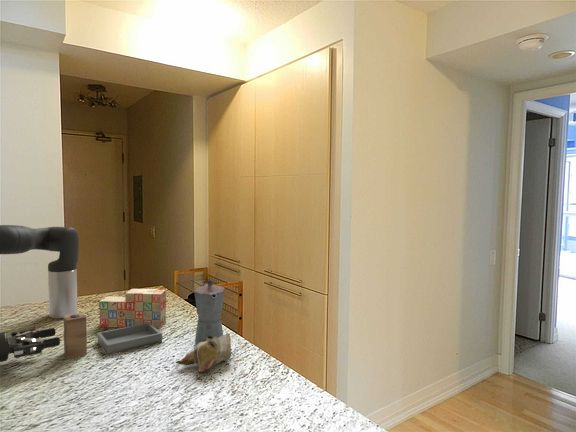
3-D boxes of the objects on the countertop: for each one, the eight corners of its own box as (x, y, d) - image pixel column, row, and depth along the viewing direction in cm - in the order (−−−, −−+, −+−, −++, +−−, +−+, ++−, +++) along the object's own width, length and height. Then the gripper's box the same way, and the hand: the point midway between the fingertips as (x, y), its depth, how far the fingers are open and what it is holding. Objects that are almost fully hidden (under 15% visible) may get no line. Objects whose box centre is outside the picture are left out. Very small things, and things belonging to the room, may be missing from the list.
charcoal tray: (97, 342, 121) (97, 332, 121) (148, 331, 131) (148, 322, 131) (107, 355, 112) (107, 345, 112) (162, 342, 122) (162, 333, 122)
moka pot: (199, 353, 114) (200, 287, 113) (187, 336, 128) (187, 276, 127) (230, 348, 119) (231, 283, 117) (215, 331, 132) (216, 273, 131)
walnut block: (64, 352, 114) (63, 315, 113) (83, 348, 117) (82, 312, 116) (67, 358, 110) (66, 319, 109) (86, 354, 113) (86, 316, 112)
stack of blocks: (99, 327, 134) (98, 292, 134) (107, 321, 141) (106, 287, 140) (160, 328, 134) (160, 293, 134) (166, 322, 141) (166, 289, 140)
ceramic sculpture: (241, 332, 108) (197, 352, 97) (242, 361, 109) (199, 384, 98) (216, 323, 115) (173, 341, 104) (218, 351, 116) (175, 371, 105)
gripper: (-16, 345, 94) (61, 330, 104) (-16, 327, 105) (53, 316, 115) (-15, 375, 95) (61, 357, 105) (-15, 354, 106) (54, 340, 116)
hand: (57, 336), depth 110 cm, fingers open, 8 cm apart
